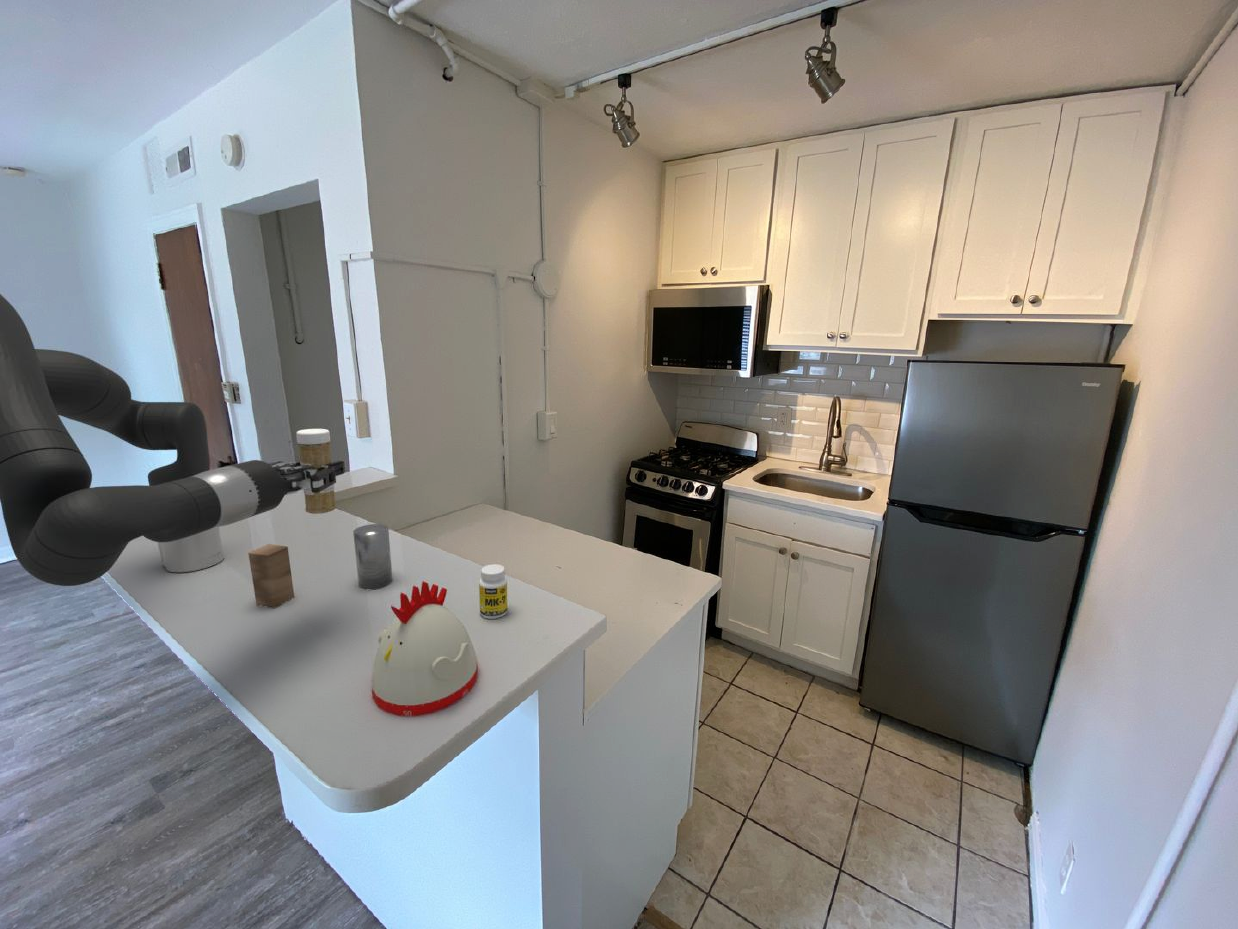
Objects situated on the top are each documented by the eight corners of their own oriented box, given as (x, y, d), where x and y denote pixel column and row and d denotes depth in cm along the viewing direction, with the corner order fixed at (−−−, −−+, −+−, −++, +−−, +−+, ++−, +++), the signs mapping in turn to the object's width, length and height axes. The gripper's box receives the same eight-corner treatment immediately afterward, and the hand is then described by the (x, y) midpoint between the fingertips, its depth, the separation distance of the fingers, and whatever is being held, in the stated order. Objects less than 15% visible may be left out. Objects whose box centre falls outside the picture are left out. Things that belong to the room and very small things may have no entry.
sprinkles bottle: (337, 512, 82) (330, 431, 79) (305, 516, 79) (296, 433, 76) (335, 504, 85) (328, 427, 82) (304, 508, 83) (295, 428, 80)
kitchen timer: (351, 689, 68) (340, 590, 64) (434, 640, 80) (429, 554, 76) (416, 732, 61) (408, 623, 57) (497, 672, 73) (495, 578, 69)
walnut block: (256, 605, 88) (248, 552, 85) (276, 594, 92) (268, 544, 89) (275, 608, 87) (267, 555, 85) (294, 597, 91) (287, 546, 88)
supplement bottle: (483, 622, 85) (481, 577, 83) (477, 609, 89) (475, 565, 87) (510, 616, 87) (509, 572, 85) (503, 603, 91) (502, 561, 89)
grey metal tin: (351, 587, 95) (345, 533, 92) (372, 573, 101) (368, 522, 98) (378, 591, 94) (374, 537, 91) (399, 577, 100) (395, 526, 97)
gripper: (273, 471, 65) (365, 446, 81) (185, 462, 68) (291, 440, 84) (280, 525, 67) (368, 490, 83) (194, 514, 69) (296, 482, 86)
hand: (329, 465), depth 83 cm, fingers closed on sprinkles bottle, 4 cm apart
